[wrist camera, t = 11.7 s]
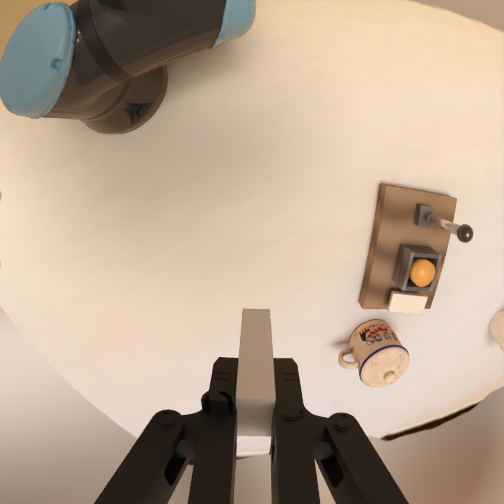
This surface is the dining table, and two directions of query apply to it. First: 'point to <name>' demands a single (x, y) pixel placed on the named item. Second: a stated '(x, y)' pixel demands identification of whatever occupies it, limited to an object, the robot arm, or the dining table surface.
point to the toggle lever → (452, 228)
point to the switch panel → (404, 243)
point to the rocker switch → (407, 302)
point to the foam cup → (498, 328)
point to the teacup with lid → (376, 354)
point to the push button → (421, 271)
